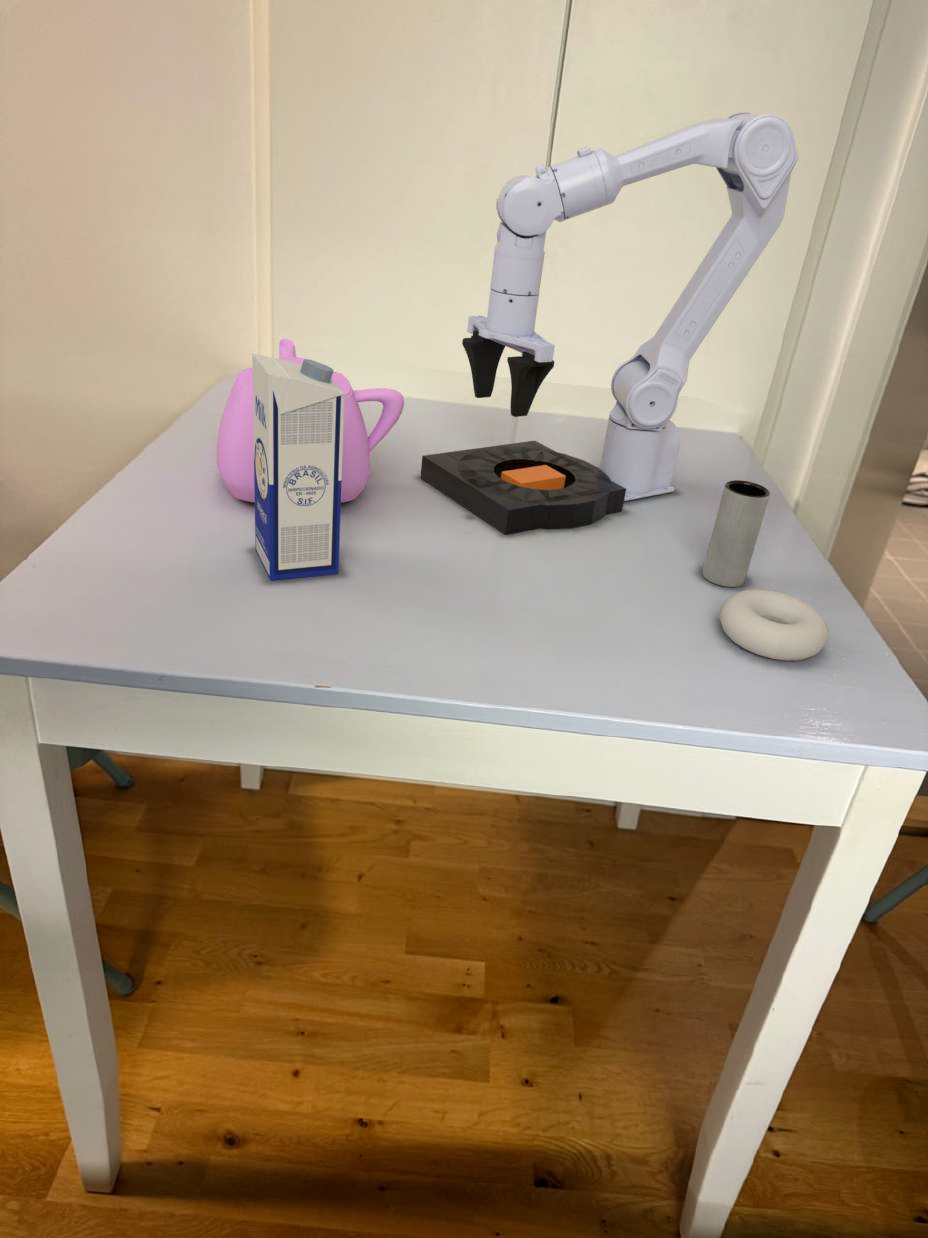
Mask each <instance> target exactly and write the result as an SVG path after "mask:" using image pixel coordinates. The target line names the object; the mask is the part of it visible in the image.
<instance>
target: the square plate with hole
mask: <svg viewBox="0 0 928 1238" xmlns="http://www.w3.org/2000/svg"><path fill="white" fill-rule="evenodd" d="M542 465H547V466H549V467H551V468H552V469H554V470H556V471H558V472H560V473H561V474H563V475H565V476H566V479H565V484H564V488H562V489H557V490H540V489H530V488H525V487H521V486H517V485H514V484H511V483H509V482H506V481H504V480H502V479H501V474H502V472H503V471H510V470H516V469H523V468H529V467H535V466H542ZM420 479H421V480H423V481H424V482H426V483H427V484H429V485H430V486H432V487H433V488H435V489H436V490H437V491H439V492H441V493H442V494H444V495H445V496H447V497H448V498H449V499H451V500H452V501H454V502H456V504H459V505H460V506H461V507H463V508H464V509H466V510H467V511H469V512H471V514H473V515H475V516H477V517H478V518H479V519H481V520H482V521H483V522H485V523H487V524H488V525H490V526H491V527H492V528H494V529H496V530H497V531H499V532H500V533H502V534H503V535H506V536H507V535H512V534H517V533H522V532H527V531H531V530H536V529H543V530H557V529H574V528H580V527H583V526H588V525H593V524H594V523H596V522H598V521H600V520H602V519H603V518H604V517H605V515H610V514H615V513H620V512H622V511H623V509H624V508H623V507H624V503H625V501H624V498H625V493H626V488H624V487H622V486H620V485H618V484H616V483H614V482H613V481H611V480H610V478H609V477H608V476H607V475H606V474H605V473H604V472H603V471H602V470H601V469H600V467H598V466H596V465H594V464H592V463H590V462H588V461H586V460H584V459H581V458H578V457H575V456H572V455H569V454H566V453H562V452H558V451H555V450H554V449H552V448H550V447H548V446H546V445H544V444H542V443H541V442H538V441H537V440H528V441H521V442H514V443H513V442H512V443H507V444H505V443H504V444H499V445H491V446H484V447H475V448H469V449H468V448H467V449H462V450H453V451H446V452H440V453H432V454H424V455H422V456H421V468H420Z"/></svg>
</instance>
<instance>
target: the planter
mask: <svg viewBox="0 0 928 1238" xmlns="http://www.w3.org/2000/svg"><path fill="white" fill-rule="evenodd" d="M770 496H771V492H770V490H769V489H768V488H767V487H765V486H763V485H761V484H759V483H756V482H753V481H747V480H737V479H735V480H729V481H727V482H726V483H725V484H724V487H723V490H722V494H721V499H720V502H719V506H718V509H717V514H716V518H715V521H714V524H713V528H712V531H711V536H710V540H709V544H708V549H707V551H706V555H705V560H704V563H703V567H702V573H701V574H702V576H703V578H704V579H705V580H707V581H709V582H711V584H715V585H718V586H721V587H727V588H737V587H741V586H742V585H744V583H745V581H746V578H747V576H748V571H749V569H750V566H751V565H750V564H751V562H752V558H753V554H754V552H755V548H756V544H757V541H758V537H759V533H760V531H761V527H762V523H763V520H764V517H765V513H766V509H767V506H768V503H769V499H770Z"/></svg>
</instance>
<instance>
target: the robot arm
mask: <svg viewBox="0 0 928 1238" xmlns="http://www.w3.org/2000/svg"><path fill="white" fill-rule="evenodd" d="M576 155H577V156H573V157H571V158H569V159H566V160H563V161H561V162H558V163H555V164H553V165H550V166H548V167H546V164H544V163H542V164H540V165H537V166H535V168H534V169H535V176H532V175H531V176H530V175H528V174H527V175H526V174H523V175H521V174H520V175H517V176H514V177H512V178H511V179H509V180H508V181H506V183H505V184H504V186H502V188H501V189H500V192H499V194H498V198H496V200H495V209H496V213H497V215H498V218H499V219H500V222H499V223H498V228H497V231H496V241H497V242H496V244H495V246H494V251H493V261H492V269H491V277H490V278H491V280H490V290H489V296H488V297H489V299H488V307H487V315H486V316H483V315H468V319H467V330H466V332H467V333H469V334H471V335H470V337H464V338H462V341H461V342H462V343H461V345H462V347H463V349H464V351H465V353H466V357H467V360H468V362H469V366H470V371H471V377H472V385H473V393H474V397H475V398H476V399H484V398H491V397H492V394H493V393H494V392H493V391H494V389H495V388H494V387H495V382H496V376H497V371H498V367H499V364H500V360H501V358H502V354H503V352H504V350H505V349H506V348H509V349H511V350H514V351H517V352H519V353H521V355H520V356H519V355H517V356H507V358H506V359H507V360H506V361H507V364H508V369H509V373H510V374H509V375H510V384H511V388H510V389H511V392H510V416H511V417H514V418H519V417H526V416H528V414H529V412H530V410H531V407H532V405H533V402H534V399H535V397H536V395H537V392H538V391H539V388H540V387H541V385H542V383H543V382H544V380H545V379H546V377H547V376H548V375H549V373H550V372H551V371H552V370H553V369H554V367H555V361H554V360H553V359H554V352H555V346H556V345H555V344H554V343H551V342H550V341H548V340H546V338H544V337H542V336H541V335H540V334H538V333H537V332H536V331H535V329H536V328H535V327H536V320H537V315H538V314H537V312H538V307H539V306H538V305H539V298H540V290H541V283H542V276H543V270H544V269H543V268H544V261H545V243H546V238H547V237H546V236H547V231H548V230H549V229H550V227H551V226H552V224H553V223H554V221H557V222H558V223H561V222H564V221H567V220H570V219H573V218H575V217H579V216H581V215H584V214H586V213H590V212H593V211H595V210H597V209H600V208H603V207H606V206H609V205H611V204H614V202H615V201H616V199H617V197H618V195H619V193H620V192H621V190H622V189H623V187H625V186H629V185H631V184H635V183H638V182H641V181H644V180H647V179H650V178H654V177H657V176H660V175H663V174H665V173H669V172H671V171H674V170H678V169H681V168H684V167H687V166H690V165H701V166H706V167H712V168H715V169H716V171H717V172H718V174H719V175H720V177H721V179H722V180H723V182H724V185H726V190H727V197H728V198H729V199H728V200H729V205H730V210H731V215H730V217H729V219H728V220H727V222H726V223H725V225H724V227H723V228H722V230H721V231H720V232H719V235H718V236H717V237H716V239H715V240H714V242H713V244H712V245H711V247H710V248H709V250H708V251H707V253H706V255H705V256H704V258H703V259H702V261H701V262H700V264H699V265H698V267H697V268H696V270H695V272H694V274H692V276H691V278H689V279H690V280H689V281H688V282H687V284H686V286H685V287H684V289H683V290H682V292H681V293H680V295H679V296H678V298H677V300H676V301H675V302H674V304H673V306H672V307H671V309H670V311H669V312H668V314H667V315H666V317H665V319H664V320H663V321H662V323H661V324H660V326H659V327H658V329H657V331H656V332H655V334H653V336H652V337H651V338H649V339H648V340H647V341H645V342H644V343H642V344H641V345H640V346H639V347H638V349H637V350H636V352H635V353H634V354H633V355H632V356H631V357H630V358H629V359H628V360H626V361H625V362H623V363H622V364H620V365H619V366H618V367H617V369H615V371H614V373H613V375H612V378H611V382H610V390H611V394H612V396H613V398H614V399H615V401H616V402H615V404H614V406H613V407H612V409H611V410H610V412H609V414H608V420H607V425H606V431H605V437H604V443H603V447H602V453H601V458H600V463H599V468H600V469H601V470H602V471H603V472H604V473H605V474H606V475H607V476H608V477H609V478H610V480H611V481H613V482H614V483H616V484H618V485H620V486H622V487H624V488H626V493H625V498H624V502H627V501H632V500H637V499H643V498H647V497H653V496H658V495H664V494H669V493H673V492H675V487H674V486H672V480H673V476H674V471H675V468H676V463H677V458H678V455H679V449H680V444H681V439H680V438H681V437H680V433H679V428H678V427H677V426H676V424H675V423H674V422H673V421H672V420H671V418H672V417H673V415H674V414H675V412H676V410H677V408H678V407H677V406H678V403H679V402H678V401H679V396H680V393H681V391H682V389H683V387H684V386H685V385H686V383H687V380H688V375H689V369H690V368H689V367H690V361H691V360H692V358H693V356H694V354H695V353H696V352H697V350H698V349H699V347H700V346H701V344H702V343H703V341H704V340H705V338H706V337H707V335H708V334H709V333H710V332H711V329H712V328H713V327H714V325H715V323H716V322H717V320H719V317H720V316H721V314H722V313H723V311H724V310H725V308H726V307H727V306H728V304H729V303H730V301H731V299H732V298H733V297H734V295H735V294H736V292H737V291H738V289H739V288H740V286H741V285H742V283H743V281H744V280H745V279H746V277H747V276H748V274H749V272H750V271H751V270H752V268H753V266H754V265H755V264H756V263H757V261H758V259H759V257H760V256H761V255H762V253H763V252H764V250H765V249H766V247H767V246H768V244H769V243H770V241H771V239H772V238H773V237H774V235H775V234H776V232H777V231H778V229H779V228H780V226H781V224H782V222H783V221H784V217H785V213H786V212H785V211H786V206H787V200H788V195H789V188H790V183H791V177H792V172H793V170H794V169H795V166H796V165H797V162H798V160H799V155H798V150H797V146H796V141H795V137H794V133H793V129H792V127H791V125H790V123H789V122H788V121H787V120H786V119H785V118H784V117H782V116H781V115H778V114H775V113H763V114H753V113H750V112H744V111H743V112H742V111H741V112H740V111H739V112H735V113H732V114H729V115H728V116H727V117H716V118H710V119H706V120H703V121H700V122H695V123H693V124H690V125H687V126H685V127H683V128H680V129H678V130H676V131H673V132H671V133H668V134H666V135H663V136H661V137H659V138H656V139H654V140H651V141H648V142H646V143H644V144H641V145H638V146H637V147H634V148H632V149H628V150H627V151H625V152H622V153H619V154H617V155H613V154H611V153H610V152H608V151H606V150H605V149H603V148H596V149H593V150H592V147H590V146H583V147H581V148H578V149H577V150H576Z"/></svg>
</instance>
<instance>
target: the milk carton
mask: <svg viewBox="0 0 928 1238" xmlns="http://www.w3.org/2000/svg"><path fill="white" fill-rule="evenodd" d="M251 360H252V362H251V363H252V365H251V368H253V428H254V489H255V503H254V541H255V542H254V543H255V544H254V545H255V547H254V549H255V552H256V554H257V556H258V558H259V560H260V562H261V564H262V566H263V569H264V570H265V572H266V574H267V576H268V578H269V580H270V582H271V581H281V580H290V579H291V580H292V579H300V578H301V579H302V578H311V577H320V576H330V575H331V576H332V575H339V568H340V567H339V565H340V537H341V536H340V535H341V513H342V512H341V509H342V508H341V507H342V503H341V484H342V455H343V427H344V398H345V393H344V392H343V391H342V390H341V389H340V388H339V387H338V386H337V385H336V384H335V383H334V382H333V381H332V380H331V377H332V374H333V371H334V369H333V368H332V367H330V366H329V365H326V364H324V363H321V362H318V361H315V360H312V359H309V358H304V361H303V364H302V365H299V364H295V363H292V362H289V361H285V360H282V359H279V357H275V356H268V355H262V354H258V353H252V355H251ZM334 372H335V371H334Z"/></svg>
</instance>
